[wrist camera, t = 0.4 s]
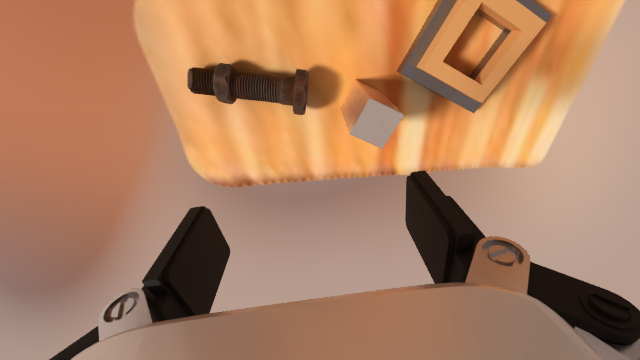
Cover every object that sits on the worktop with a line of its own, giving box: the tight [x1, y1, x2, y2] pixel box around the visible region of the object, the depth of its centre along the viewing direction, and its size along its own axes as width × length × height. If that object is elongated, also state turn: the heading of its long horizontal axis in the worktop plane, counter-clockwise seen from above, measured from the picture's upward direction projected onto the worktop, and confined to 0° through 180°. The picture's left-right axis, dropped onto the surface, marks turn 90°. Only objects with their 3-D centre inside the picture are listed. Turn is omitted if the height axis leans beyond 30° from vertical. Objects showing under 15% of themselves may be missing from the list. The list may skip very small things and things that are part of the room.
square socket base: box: [397, 0, 552, 113], centre depth 31 cm, size 13×13×4 cm
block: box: [341, 79, 404, 148], centre depth 31 cm, size 4×4×10 cm
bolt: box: [188, 63, 309, 115], centre depth 32 cm, size 6×5×15 cm
